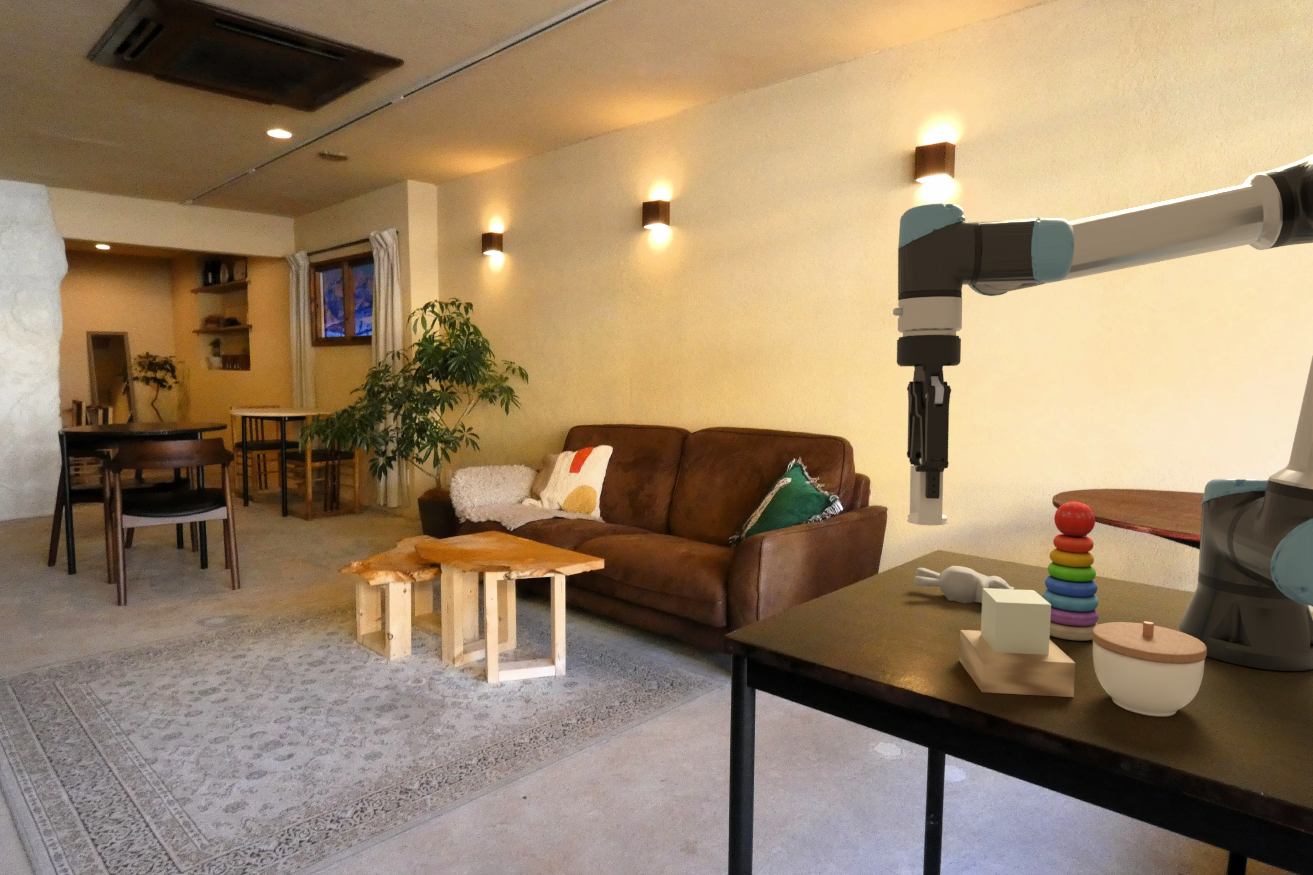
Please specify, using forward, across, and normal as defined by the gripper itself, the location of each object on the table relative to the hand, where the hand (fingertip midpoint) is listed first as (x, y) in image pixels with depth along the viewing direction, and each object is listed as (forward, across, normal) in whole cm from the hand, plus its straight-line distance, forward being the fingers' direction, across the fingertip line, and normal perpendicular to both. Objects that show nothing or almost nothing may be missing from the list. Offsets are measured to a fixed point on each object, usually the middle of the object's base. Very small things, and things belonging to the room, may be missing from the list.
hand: (925, 519), depth 99 cm
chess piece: (+1, 0, 0) cm, 1 cm away
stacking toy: (+19, -13, +22) cm, 32 cm away
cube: (+14, +5, +10) cm, 18 cm away
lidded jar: (+19, +11, +22) cm, 31 cm away
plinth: (+18, +5, +10) cm, 21 cm away
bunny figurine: (+19, -28, +12) cm, 36 cm away
